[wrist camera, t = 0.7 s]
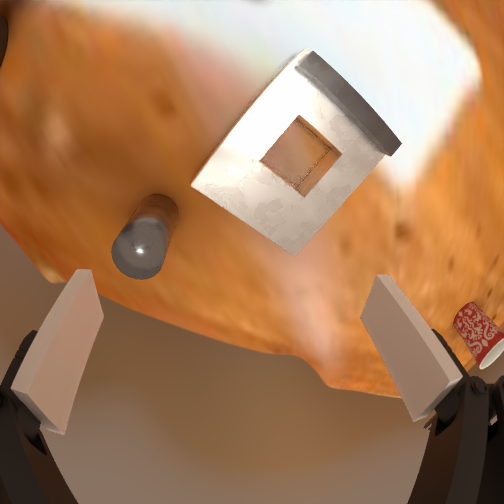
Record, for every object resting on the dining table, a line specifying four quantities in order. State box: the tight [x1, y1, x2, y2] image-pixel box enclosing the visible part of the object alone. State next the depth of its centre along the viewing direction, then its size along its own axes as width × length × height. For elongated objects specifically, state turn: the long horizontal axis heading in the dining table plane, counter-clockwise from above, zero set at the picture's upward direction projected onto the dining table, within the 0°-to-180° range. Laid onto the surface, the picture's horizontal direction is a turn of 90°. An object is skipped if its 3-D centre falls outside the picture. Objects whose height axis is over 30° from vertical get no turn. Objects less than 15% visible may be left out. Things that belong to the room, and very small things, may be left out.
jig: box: [191, 48, 402, 257], centre depth 27 cm, size 14×18×6 cm
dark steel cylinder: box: [112, 194, 178, 280], centre depth 27 cm, size 5×5×10 cm
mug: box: [454, 303, 504, 369], centre depth 44 cm, size 13×9×14 cm
